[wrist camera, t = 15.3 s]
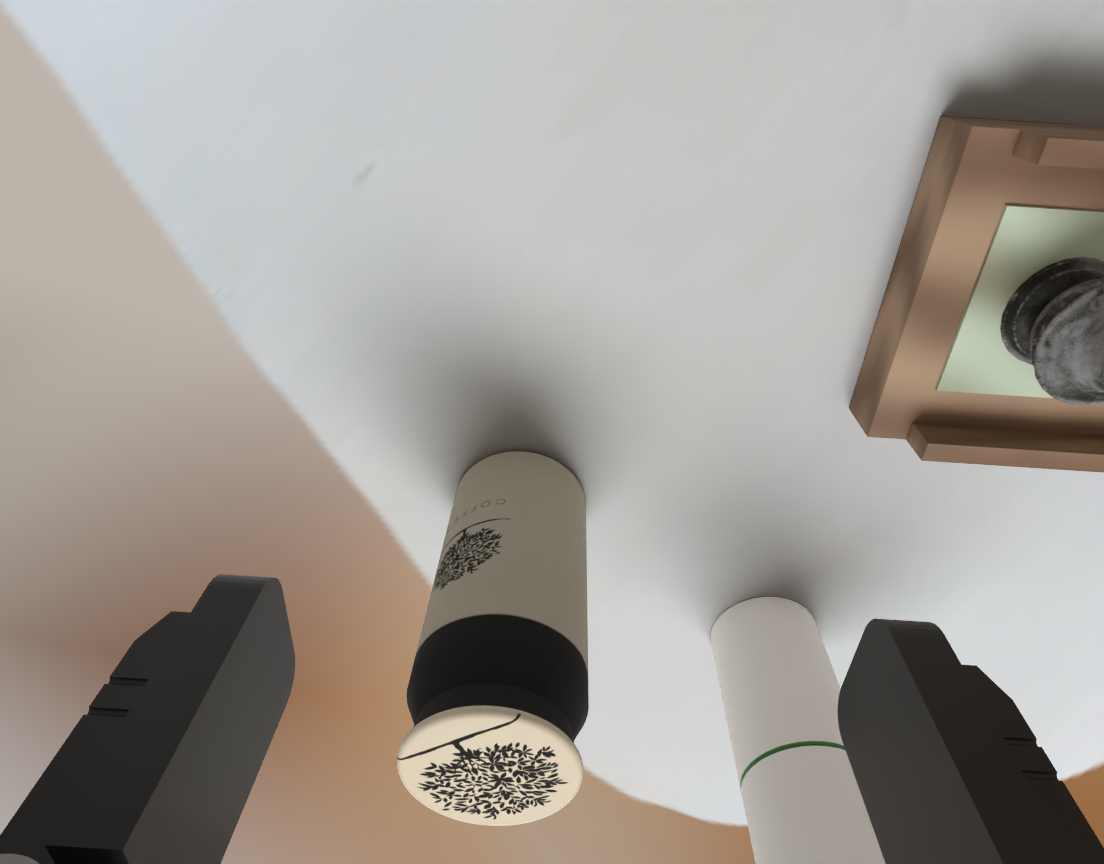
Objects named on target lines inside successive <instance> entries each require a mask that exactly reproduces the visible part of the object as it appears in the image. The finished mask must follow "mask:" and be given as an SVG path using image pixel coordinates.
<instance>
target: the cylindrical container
mask: <svg viewBox="0 0 1104 864" xmlns="http://www.w3.org/2000/svg"><path fill="white" fill-rule="evenodd" d="M710 639H711V646H712V651H713V656H714V661H715V666H716V671H717V676H718V681H719V686H720V691H721V695H722V700H723V705H724V710H725V715H726V720H727V725H728V730H729V735H730V740H731V745H732V750H733V754H734V759H735V764H736V769H737V774H738V779H739V784H740V789H741V794H742V799H743V804H744V808H745V813H746V818H747V822H748V828H749V833H750V837H751V843H752V848H753V852H754V857H755V862H756V864H886V863H885V861H884V858H883V855H882V852H881V849H880V846H879V844H878V841H877V838H876V835H875V832H874V829H873V827H872V824H871V821H870V818H869V815H868V812H867V810H866V807H865V804H864V801H863V798H862V795H861V793H860V790H859V787H858V784H857V781H856V778H855V776H854V773H853V770H852V767H851V764H850V762H849V759H848V756H847V753H846V750H845V747H844V745H843V742H842V738H841V735H840V731H839V725H838V711H837V709H838V698H839V693H840V690H841V689H840V686H839V684H838V681H837V678H836V676H835V673H834V670H833V668H832V665H831V662H830V660H829V657H828V654H827V652H826V649H825V646H824V644H823V641H822V638H821V636H820V633H819V631H818V628H817V625H816V623H815V620H814V618H813V616H812V614H811V613H810V612H809V611H808V610H807V609H806V608H805V607H803V606H802V605H800V604H799V603H797V602H794V601H792V600H789V599H785V598H780V597H758V598H753V599H748V600H746V601H743V602H740V603H738V604H736V605H734V606H732V607H730V608H729V609H727V610H726V611H725V612H724V613H722V614H721V615H720V617H719V618H718V619H717V620H716V622H715V623H714V625H713V627H712V630H711V634H710Z"/></svg>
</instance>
